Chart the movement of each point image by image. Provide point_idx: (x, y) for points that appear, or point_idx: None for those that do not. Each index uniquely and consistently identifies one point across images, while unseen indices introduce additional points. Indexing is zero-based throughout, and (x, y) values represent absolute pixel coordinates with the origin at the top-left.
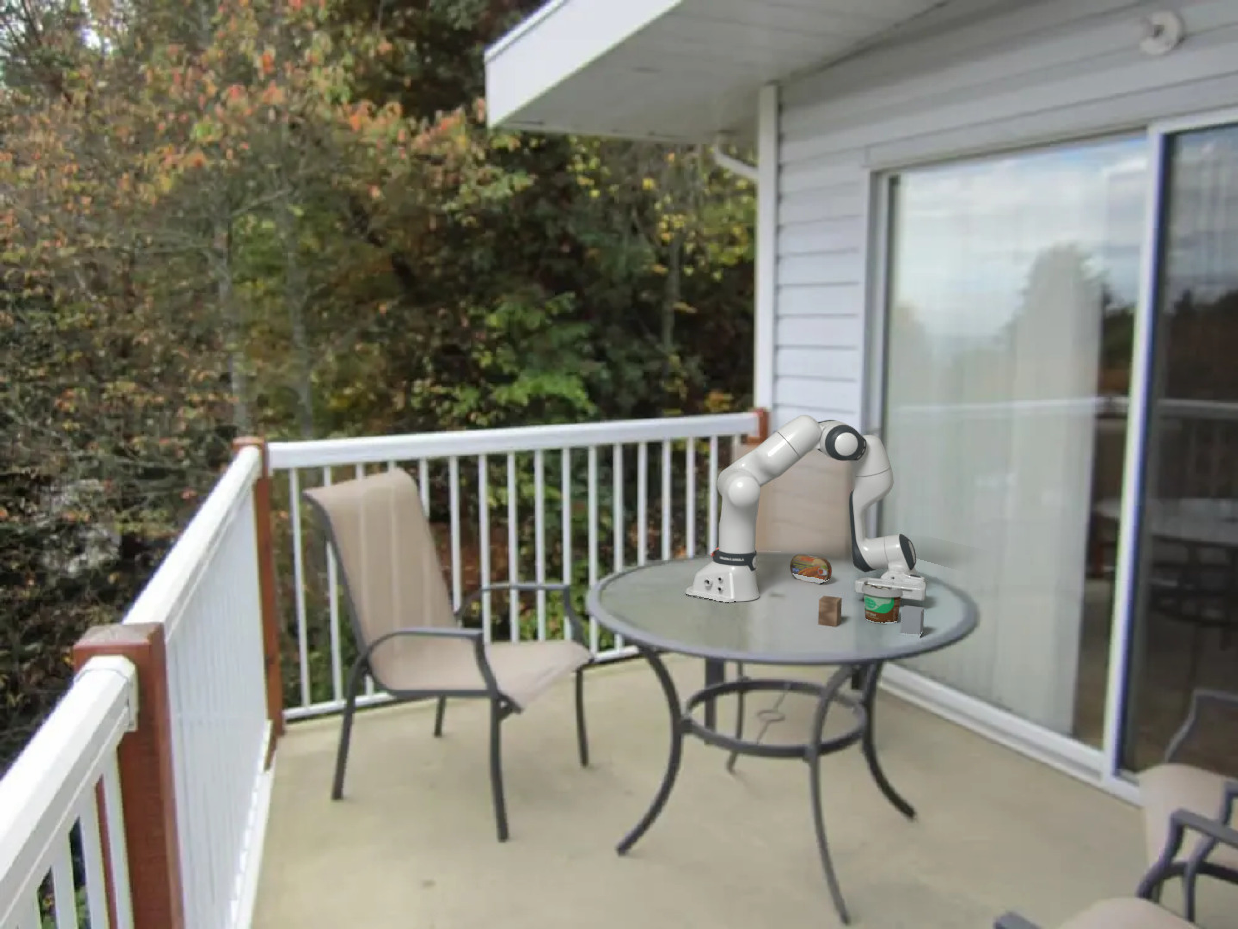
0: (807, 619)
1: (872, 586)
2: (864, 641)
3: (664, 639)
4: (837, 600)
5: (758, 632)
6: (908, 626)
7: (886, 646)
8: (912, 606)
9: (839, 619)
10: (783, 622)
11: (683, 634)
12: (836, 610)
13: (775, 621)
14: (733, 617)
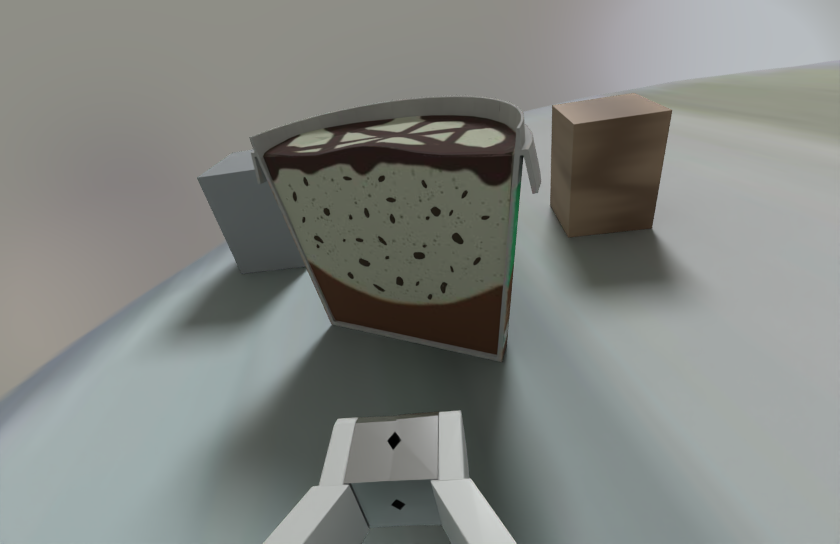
0: (709, 211)
1: (451, 141)
2: None
3: (787, 68)
4: (563, 109)
5: (695, 122)
6: None
7: None
8: (244, 169)
9: (562, 207)
10: (738, 168)
11: (802, 78)
12: (553, 141)
13: (770, 164)
14: None
